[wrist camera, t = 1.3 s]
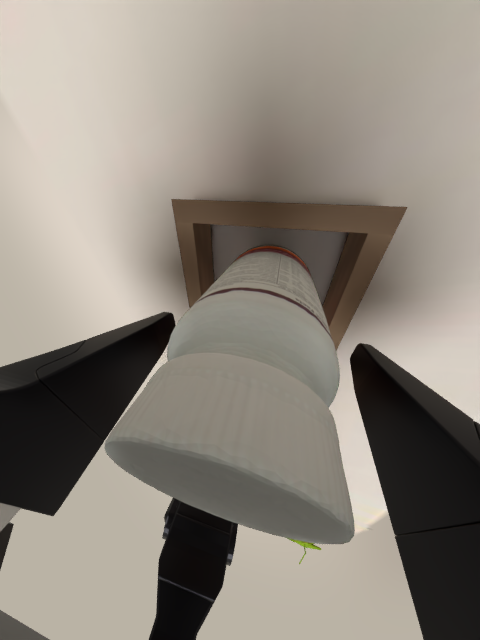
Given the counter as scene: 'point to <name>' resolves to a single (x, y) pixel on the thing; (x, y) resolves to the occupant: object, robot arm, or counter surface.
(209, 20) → the counter surface
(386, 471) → the robot arm
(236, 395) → the pill bottle
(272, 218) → the caddy
